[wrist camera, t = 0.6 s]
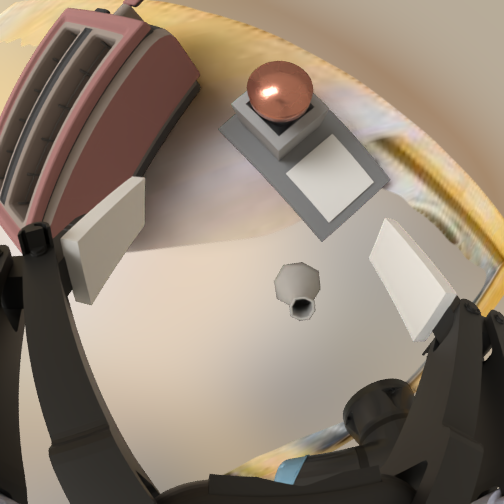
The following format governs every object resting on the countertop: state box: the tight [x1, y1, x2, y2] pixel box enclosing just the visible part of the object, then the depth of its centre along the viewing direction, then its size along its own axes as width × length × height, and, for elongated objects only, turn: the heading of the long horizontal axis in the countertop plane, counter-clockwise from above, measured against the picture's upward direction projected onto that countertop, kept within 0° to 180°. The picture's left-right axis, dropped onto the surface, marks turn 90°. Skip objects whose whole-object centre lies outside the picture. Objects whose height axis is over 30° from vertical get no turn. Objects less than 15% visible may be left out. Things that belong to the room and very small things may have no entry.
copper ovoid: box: [247, 61, 313, 126], centre depth 27 cm, size 6×6×8 cm
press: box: [218, 91, 390, 242], centre depth 33 cm, size 22×14×10 cm, turn 42°
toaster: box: [0, 0, 201, 253], centre depth 30 cm, size 19×36×21 cm, turn 146°
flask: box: [274, 262, 320, 321], centre depth 37 cm, size 7×7×10 cm
